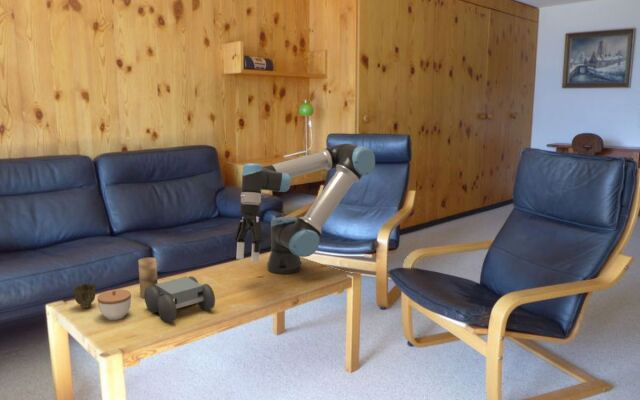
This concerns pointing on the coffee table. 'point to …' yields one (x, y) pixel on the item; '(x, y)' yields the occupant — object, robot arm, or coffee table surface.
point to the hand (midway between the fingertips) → (247, 260)
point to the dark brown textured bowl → (84, 294)
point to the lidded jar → (114, 303)
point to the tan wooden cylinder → (147, 274)
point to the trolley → (178, 296)
